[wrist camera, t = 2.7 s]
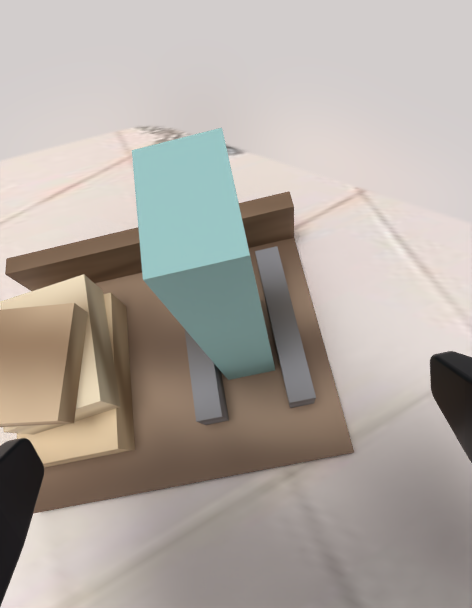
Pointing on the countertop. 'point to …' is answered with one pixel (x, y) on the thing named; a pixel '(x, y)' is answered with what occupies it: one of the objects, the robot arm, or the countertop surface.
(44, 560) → the countertop surface
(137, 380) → the rack
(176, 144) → the block
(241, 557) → the countertop surface
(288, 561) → the countertop surface
